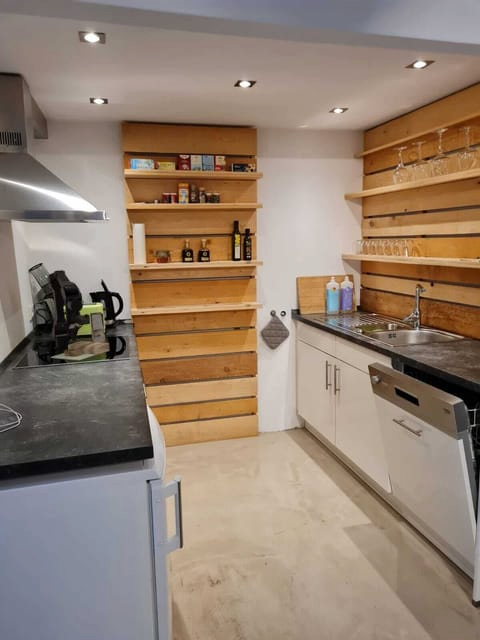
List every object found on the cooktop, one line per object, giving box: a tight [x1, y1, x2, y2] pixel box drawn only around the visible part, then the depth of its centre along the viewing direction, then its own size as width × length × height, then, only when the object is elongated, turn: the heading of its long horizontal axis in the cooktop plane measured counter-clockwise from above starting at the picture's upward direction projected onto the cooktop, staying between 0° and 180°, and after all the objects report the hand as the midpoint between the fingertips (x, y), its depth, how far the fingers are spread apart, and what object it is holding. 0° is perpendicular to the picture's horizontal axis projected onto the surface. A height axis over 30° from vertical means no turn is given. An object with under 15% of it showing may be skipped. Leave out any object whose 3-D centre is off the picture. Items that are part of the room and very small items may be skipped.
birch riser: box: [67, 340, 110, 356], centre depth 249 cm, size 18×10×4 cm, turn 66°
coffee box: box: [89, 311, 106, 343], centre depth 277 cm, size 9×6×16 cm
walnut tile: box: [63, 349, 83, 357], centre depth 240 cm, size 7×5×2 cm
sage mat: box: [50, 352, 96, 361], centre depth 239 cm, size 18×11×1 cm, turn 66°
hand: (74, 340), depth 239 cm, fingers closed
